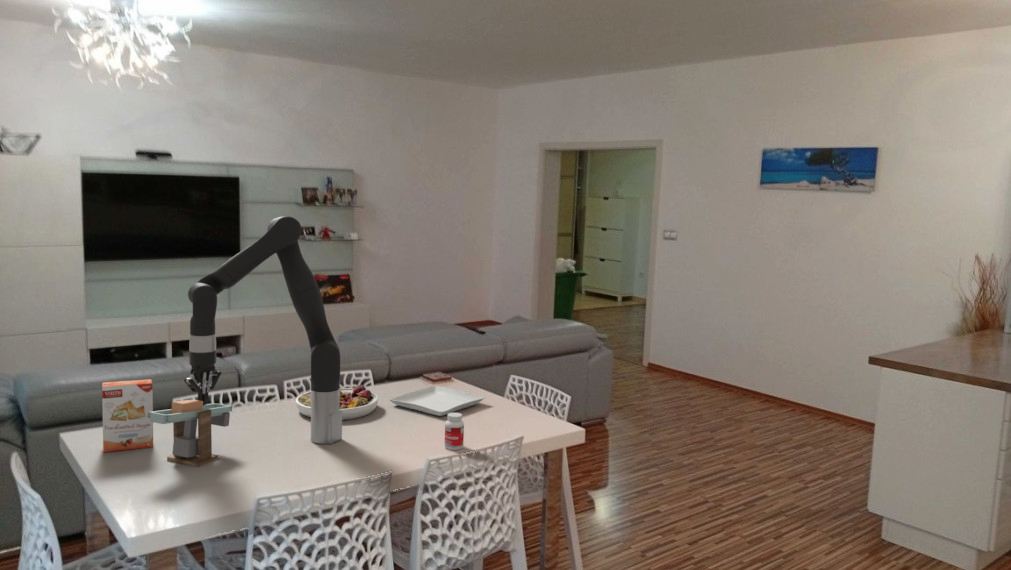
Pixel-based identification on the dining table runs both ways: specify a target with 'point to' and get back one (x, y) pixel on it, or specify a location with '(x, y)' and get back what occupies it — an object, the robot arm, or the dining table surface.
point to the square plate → (437, 400)
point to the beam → (191, 425)
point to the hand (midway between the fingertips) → (203, 404)
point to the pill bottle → (454, 431)
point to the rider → (186, 406)
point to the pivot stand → (203, 441)
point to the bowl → (345, 402)
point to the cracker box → (127, 415)
